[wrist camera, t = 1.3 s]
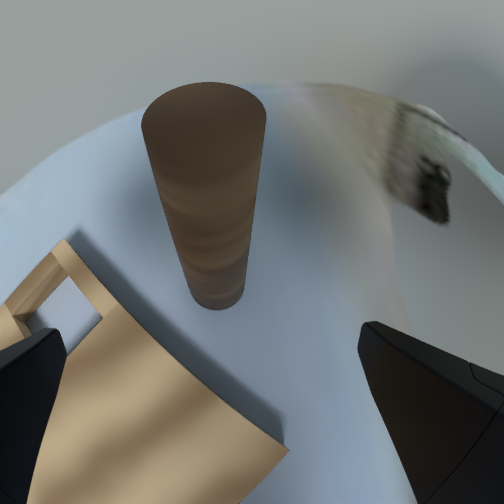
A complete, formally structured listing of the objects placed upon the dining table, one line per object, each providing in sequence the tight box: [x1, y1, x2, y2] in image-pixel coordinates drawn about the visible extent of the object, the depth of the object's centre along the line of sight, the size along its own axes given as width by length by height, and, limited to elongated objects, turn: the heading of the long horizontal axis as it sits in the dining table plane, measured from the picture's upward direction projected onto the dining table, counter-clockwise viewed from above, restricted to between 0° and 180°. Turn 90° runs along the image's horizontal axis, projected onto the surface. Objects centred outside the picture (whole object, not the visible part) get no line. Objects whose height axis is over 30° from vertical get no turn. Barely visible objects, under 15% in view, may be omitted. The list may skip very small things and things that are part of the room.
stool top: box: [0, 239, 289, 504], centre depth 15 cm, size 22×22×2 cm
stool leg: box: [141, 82, 266, 310], centre depth 16 cm, size 4×4×15 cm
